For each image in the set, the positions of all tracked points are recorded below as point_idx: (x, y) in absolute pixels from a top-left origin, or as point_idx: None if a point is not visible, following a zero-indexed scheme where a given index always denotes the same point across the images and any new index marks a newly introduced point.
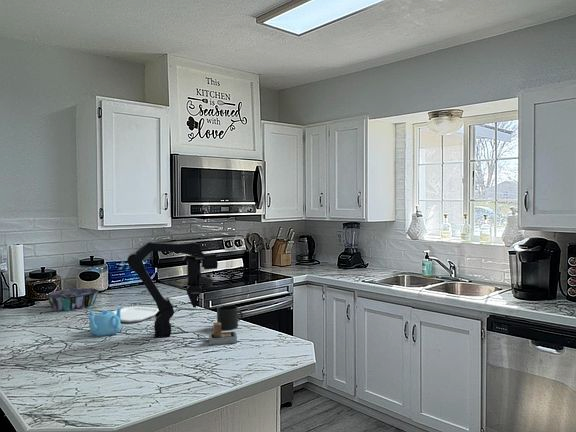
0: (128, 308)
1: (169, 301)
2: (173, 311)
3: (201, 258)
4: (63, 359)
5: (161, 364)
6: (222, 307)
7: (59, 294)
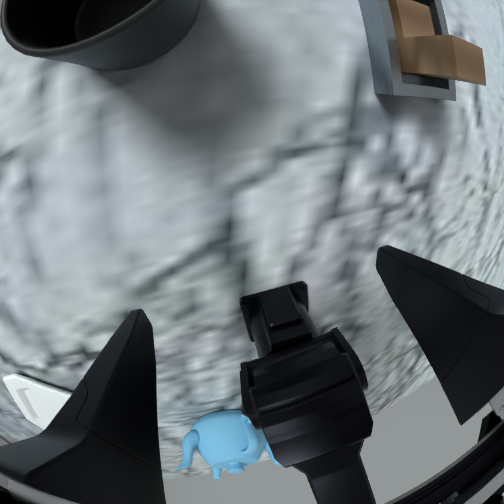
0: (45, 425)
1: (372, 424)
2: (350, 359)
3: None
4: (388, 385)
5: (494, 223)
6: (19, 37)
7: None
